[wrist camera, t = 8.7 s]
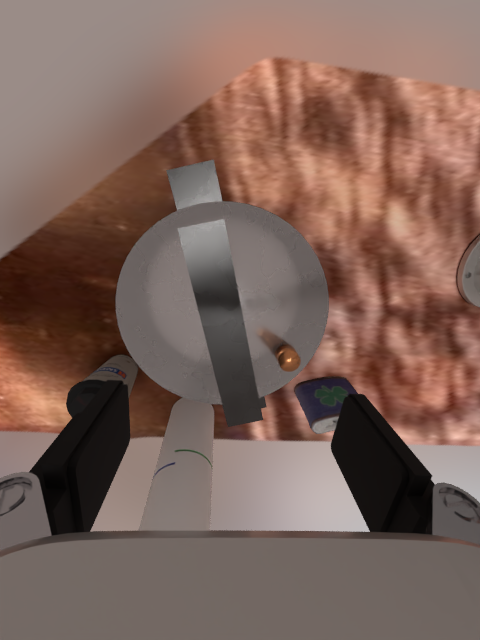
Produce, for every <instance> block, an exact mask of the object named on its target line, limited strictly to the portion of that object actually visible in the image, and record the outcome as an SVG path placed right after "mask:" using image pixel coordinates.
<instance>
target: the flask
mask: <svg viewBox="0 0 480 640" xmlns="http://www.w3.org/2000/svg"><path fill="white" fill-rule="evenodd" d="M295 394H296V396H297V398H298V400H299V402H300V405H301V407H302V409H303V411H304V413H305V415H306V417H307V420H308V422H309V425H310V428H311V429H312V430H313V432H315V433H316V434H321V433H325V432H329V431H333V430H335V428H336V425H337V421H338V418H339V414H340V411H341V407H342V404H343V400H344V398H345V397H348V395H349V394H358V393H357V392H356V390H355V389H354V388H353V386H352V385H351V384H350V383H349V382H348V380H347V379H346V378H344V377H325V378H324V377H323V378H320V379H313V380H308V381H304V382H301V383H299V384H298V385H296V387H295Z"/></svg>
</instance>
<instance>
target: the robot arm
mask: <svg viewBox="0 0 480 640" xmlns="http://www.w3.org/2000/svg"><path fill="white" fill-rule="evenodd" d="M457 282H458V288H459V291H460V293H461V295H462V297H463V298H464V299H465V300H466V301H467V302H468V303H470V304H472V305H474V306H477V307H480V235H479V236H478V237H477V238H476V239H475V240H474V241H473V243H472V244H471V245H470V246H469V248H468V249H467V251H466V252H465V254H464V256H463V258H462V260H461V263H460V266H459V269H458V276H457ZM129 441H130V419H129V398H128V385H127V384H124V383H123V381H122V380H107V381H106V382H105V383H104V384H103V386H102V387H101V388H100V390H99V391H98V392H97V393H96V395H95V396H94V397H93V399H92V400H91V401H90V402H89V404H88V405H87V406H86V408H85V409H84V410H83V411H82V412H79V413H77V414H76V415H75V416H74V417H73V418H72V419H71V420H70V422H69V423H68V424H67V425H66V427H65V428H64V429H63V430H62V432H61V433H60V434H59V435H58V437H57V438H56V439H55V440H54V442H53V443H52V444H51V445H50V447H49V448H48V449H47V450H46V452H45V453H44V454H43V455H42V457H41V458H40V459H39V460H38V462H37V463H36V464H35V465H34V467H33V468H32V469H31V470H30V472H20V473H14V474H11V475H8V476H5V477H3V478H0V640H480V503H479V502H478V501H477V500H476V499H475V498H474V497H472V496H471V495H470V494H468V493H467V492H465V491H464V490H462V489H460V488H458V487H456V486H454V485H451V484H447V483H437V484H436V485H435V484H434V483H433V482H432V481H431V477H432V475H431V474H430V473H429V471H428V470H427V469H426V468H425V467H424V466H423V464H422V463H421V462H420V461H419V459H418V458H417V457H416V456H415V455H414V454H413V452H412V451H411V450H410V449H409V448H408V446H407V445H406V444H405V443H404V442H403V440H402V439H401V438H400V437H399V436H398V434H397V433H396V432H395V431H394V430H393V428H392V427H391V426H390V425H389V424H388V423H387V421H386V420H385V419H384V418H383V417H382V415H381V414H380V413H379V412H378V411H377V409H376V408H375V407H374V406H373V405H372V403H371V402H370V401H369V400H368V399H367V398H366V396H365V395H363V394H349V395H348V397H345V398H344V400H343V404H342V407H341V411H340V414H339V418H338V421H337V425H336V428H335V432H334V435H333V439H332V442H331V450H332V453H333V455H334V457H335V459H336V462H337V464H338V466H339V468H340V470H341V472H342V474H343V476H344V478H345V480H346V482H347V484H348V486H349V488H350V491H351V493H352V494H353V497H354V499H355V501H356V503H357V505H358V507H359V509H360V511H361V514H362V516H363V518H364V520H365V522H366V524H367V526H368V528H369V530H370V532H333V531H332V532H330V531H329V532H328V531H162V530H145V531H94V532H90V530H91V528H92V526H93V524H94V521H95V519H96V517H97V515H98V512H99V510H100V508H101V506H102V503H103V501H104V499H105V497H106V494H107V492H108V490H109V488H110V485H111V483H112V481H113V479H114V476H115V474H116V472H117V469H118V467H119V465H120V463H121V461H122V458H123V456H124V454H125V452H126V449H127V447H128V445H129Z"/></svg>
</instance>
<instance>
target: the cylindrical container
mask: <svg viewBox="0 0 480 640" xmlns="http://www.w3.org/2000/svg"><path fill="white" fill-rule="evenodd" d="M213 434H214V409H213V406H212V405H211V404H207V403H202V402H197V401H193V400H190V399H186V398H181V399H179V400H178V401H177V402H176V403H175V404H174V406H173V407H172V410H171V414H170V418H169V421H168V425H167V429H166V432H165V436H164V440H163V443H162V447H161V451H160V454H159V458H158V462H157V465H156V469H155V473H154V476H153V480H152V484H151V487H150V491H149V495H148V498H147V502H146V506H145V509H144V513H143V516H142V520H141V524H140V528H139V531H145V530H162V531H210V514H211V488H212V462H213V461H212V460H213Z"/></svg>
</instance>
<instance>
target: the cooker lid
mask: <svg viewBox="0 0 480 640" xmlns="http://www.w3.org/2000/svg"><path fill="white" fill-rule="evenodd" d="M328 310H329V295H328V288H327V282H326V278H325V275H324V271H323V269H322V266H321V264H320V262H319V259H318V257H317V256H316V254H315V252H314V251H313V249H312V248H311V246H310V245H309V243H308V242H307V241H306V240H305V239H304V237H303V236H302V235H301V234H300V233H299V232H298V231H297V230H296V229H295V228H293V227H292V226H291V225H290V224H289V223H287V222H286V221H284V220H283V219H281V218H280V217H278V216H277V215H275V214H273V213H271V212H268V211H266V210H264V209H262V208H259V207H255V206H252V205H249V204H244V203H238V202H225V201H215V202H207V203H200V204H196V205H193V206H189V207H185V208H183V209H181V210H178V211H176V212H174V213H172V214H170V215H168V216H166V217H165V218H163V219H162V220H160V221H158V222H157V223H156V224H155V225H153V226H152V227H151V228H150V229H149V230H148V231H146V232H145V233H144V235H143V236H142V237H141V238H140V239H139V240H138V241H137V243H136V244H135V245H134V247H133V248H132V250H131V251H130V253H129V255H128V256H127V258H126V261H125V263H124V265H123V267H122V270H121V273H120V276H119V280H118V284H117V291H116V315H117V321H118V326H119V329H120V333H121V336H122V339H123V341H124V343H125V345H126V347H127V350H128V351H129V353H130V354H131V356H132V358H133V359H134V361H135V362H136V363H137V364H138V366H139V367H140V368H141V369H142V370H143V371H144V372H145V373H146V374H147V375H148V376H149V377H150V378H151V379H152V380H154V381H155V382H156V383H158V384H159V385H160V386H162V387H163V388H165V389H167V390H169V391H170V392H172V393H174V394H176V395H179V396H181V397H183V398H186V399H190V400H193V401H197V402H202V403H207V404H222V405H223V409H224V413H225V417H226V421H227V425H228V427H230V426H235V425H240V424H245V423H250V422H255V421H260V420H263V417H262V412H261V407H260V402H259V398H261V397H263V396H266V395H268V394H270V393H272V392H274V391H276V390H278V389H279V388H281V387H282V386H284V385H285V384H287V383H288V382H290V381H291V380H292V379H293V378H294V377H296V376H297V375H298V374H299V373H300V372H301V371H302V369H303V368H304V367H305V366H306V365H307V364H308V362H309V361H310V360H311V358H312V357H313V355H314V353H315V352H316V350H317V348H318V346H319V344H320V342H321V339H322V337H323V335H324V331H325V327H326V324H327V318H328Z"/></svg>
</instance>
